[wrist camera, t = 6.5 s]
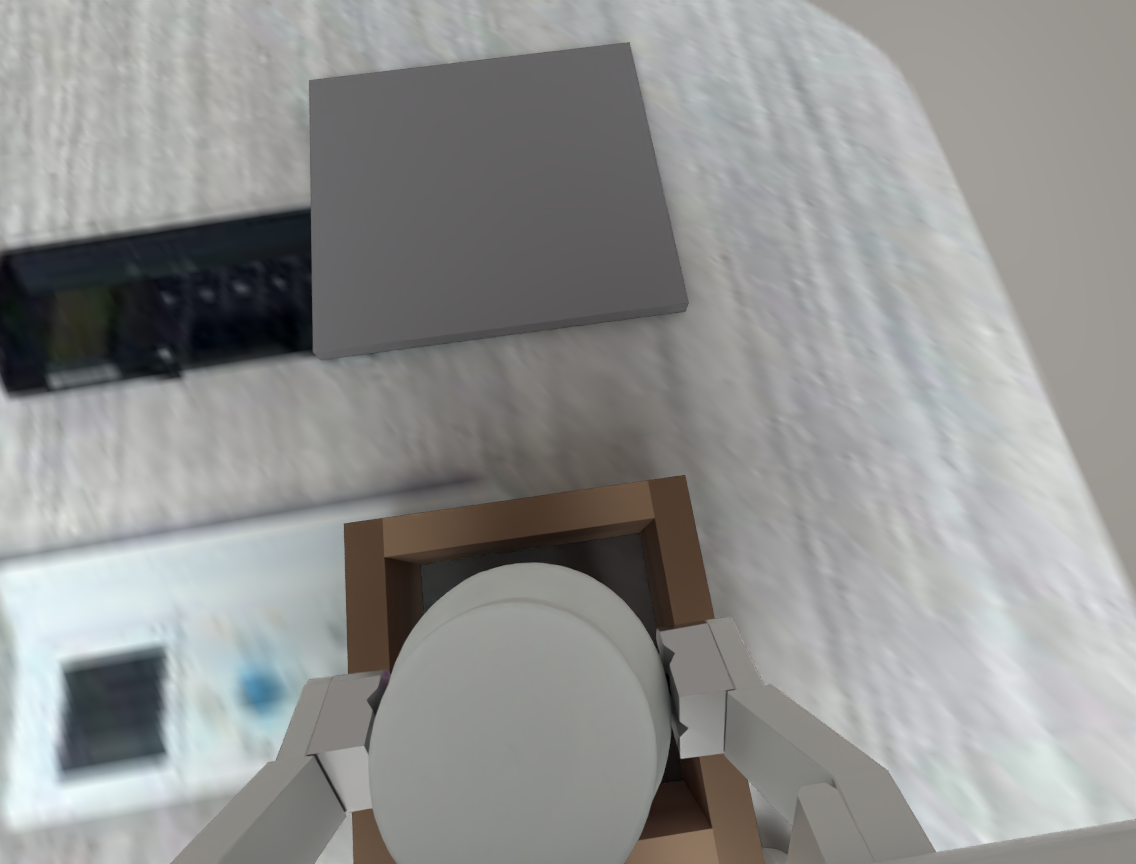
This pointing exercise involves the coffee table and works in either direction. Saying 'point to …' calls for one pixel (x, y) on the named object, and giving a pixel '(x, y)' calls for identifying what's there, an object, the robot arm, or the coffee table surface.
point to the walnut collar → (652, 508)
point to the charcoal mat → (485, 202)
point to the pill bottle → (521, 725)
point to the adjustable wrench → (774, 856)
